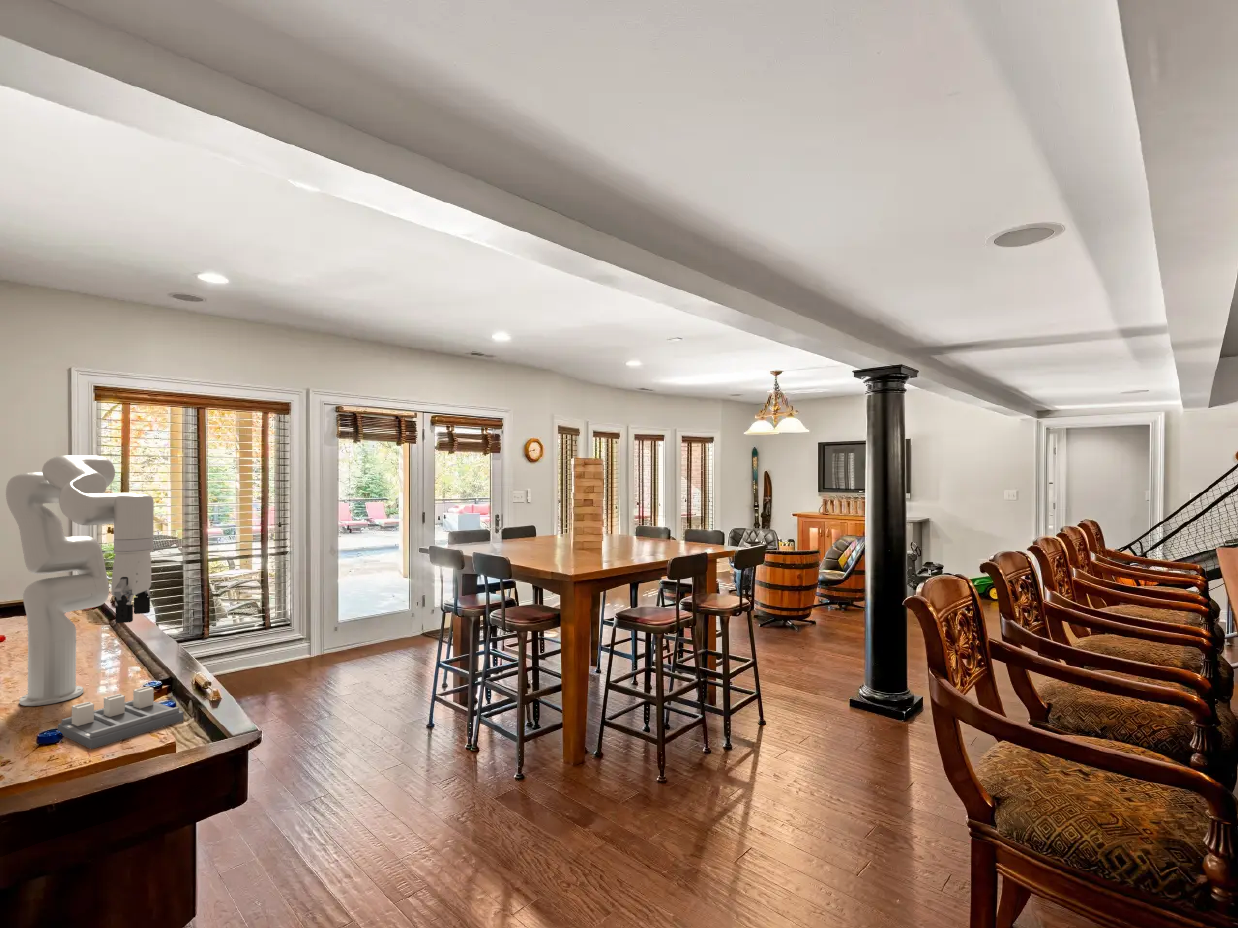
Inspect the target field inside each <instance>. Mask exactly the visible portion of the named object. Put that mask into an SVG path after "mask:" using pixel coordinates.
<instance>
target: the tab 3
mask: <svg viewBox="0 0 1238 928" xmlns="http://www.w3.org/2000/svg"><path fill="white" fill-rule="evenodd" d="M132 691H133V692H132V695H133V697H132V698H133V699H132V700H133V707H136V708H139V709H140V708H144V707H147V706H151V705H153V701H154V688H153V687H151V686H149V685H148V686H144V687H140V688H136V689H132Z"/></svg>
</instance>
